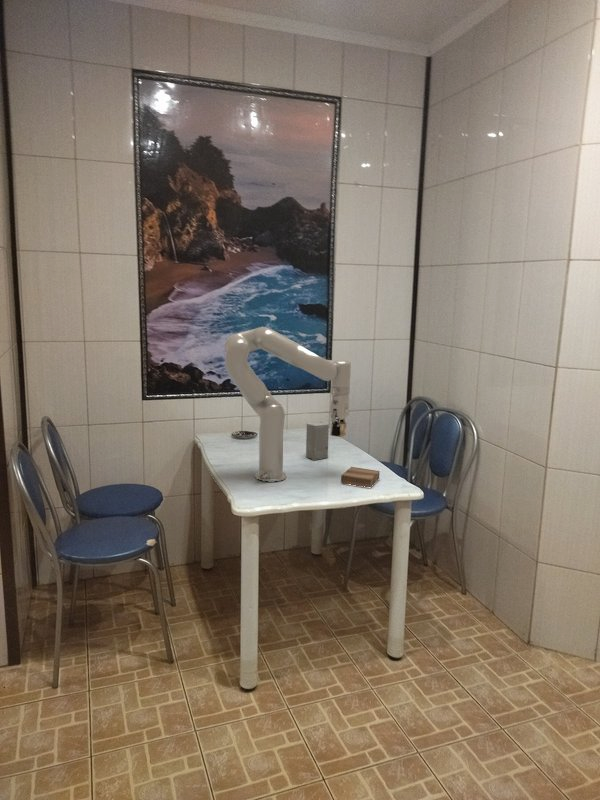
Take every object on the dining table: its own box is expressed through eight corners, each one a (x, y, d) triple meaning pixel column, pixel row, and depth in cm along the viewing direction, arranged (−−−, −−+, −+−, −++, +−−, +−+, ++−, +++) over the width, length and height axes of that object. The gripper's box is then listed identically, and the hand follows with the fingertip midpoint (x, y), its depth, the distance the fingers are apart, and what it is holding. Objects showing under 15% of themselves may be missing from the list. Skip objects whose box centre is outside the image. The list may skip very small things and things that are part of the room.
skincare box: (313, 460, 262) (314, 426, 259) (304, 456, 268) (305, 422, 264) (329, 458, 266) (330, 424, 263) (319, 454, 272) (320, 420, 269)
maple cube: (341, 437, 240) (342, 425, 239) (330, 435, 242) (330, 423, 241) (346, 434, 244) (346, 422, 243) (334, 432, 246) (335, 421, 245)
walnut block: (370, 489, 228) (370, 479, 228) (340, 484, 233) (341, 475, 232) (379, 480, 239) (379, 471, 238) (351, 475, 244) (351, 466, 243)
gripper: (341, 395, 230) (339, 440, 234) (355, 388, 245) (353, 430, 249) (323, 393, 233) (322, 437, 237) (338, 386, 248) (337, 428, 252)
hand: (338, 433), depth 243 cm, fingers closed on maple cube, 5 cm apart
